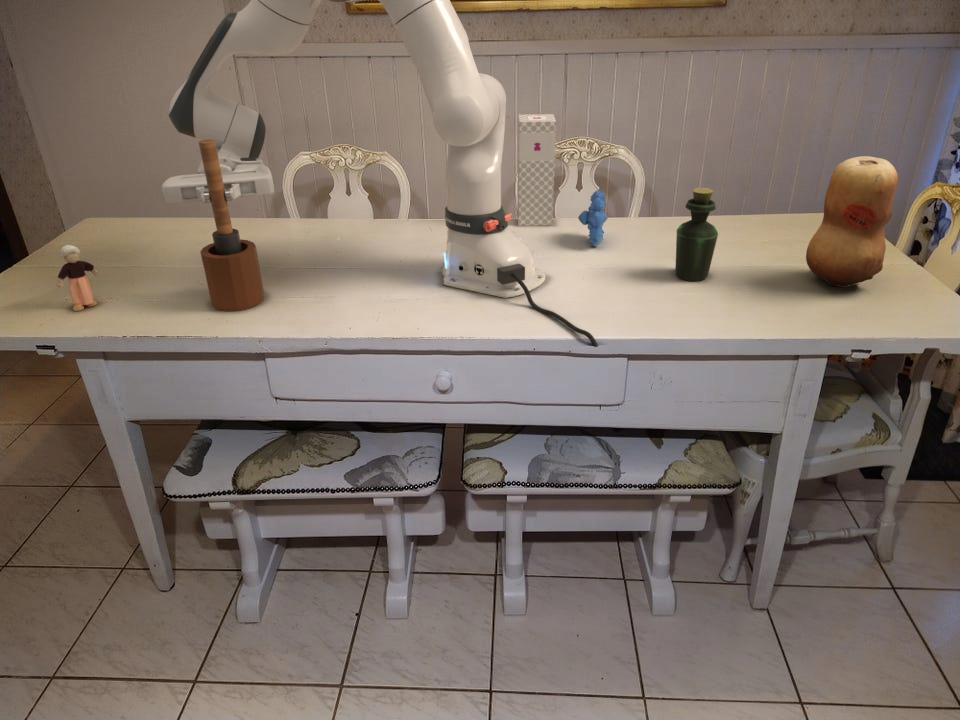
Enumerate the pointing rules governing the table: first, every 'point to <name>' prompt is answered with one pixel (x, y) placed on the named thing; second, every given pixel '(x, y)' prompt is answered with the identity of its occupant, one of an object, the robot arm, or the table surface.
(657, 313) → the table surface
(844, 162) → the butternut squash
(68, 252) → the grandmother figurine
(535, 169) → the box
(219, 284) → the cylindrical container
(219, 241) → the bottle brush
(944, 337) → the table surface
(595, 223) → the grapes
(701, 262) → the potion bottle
